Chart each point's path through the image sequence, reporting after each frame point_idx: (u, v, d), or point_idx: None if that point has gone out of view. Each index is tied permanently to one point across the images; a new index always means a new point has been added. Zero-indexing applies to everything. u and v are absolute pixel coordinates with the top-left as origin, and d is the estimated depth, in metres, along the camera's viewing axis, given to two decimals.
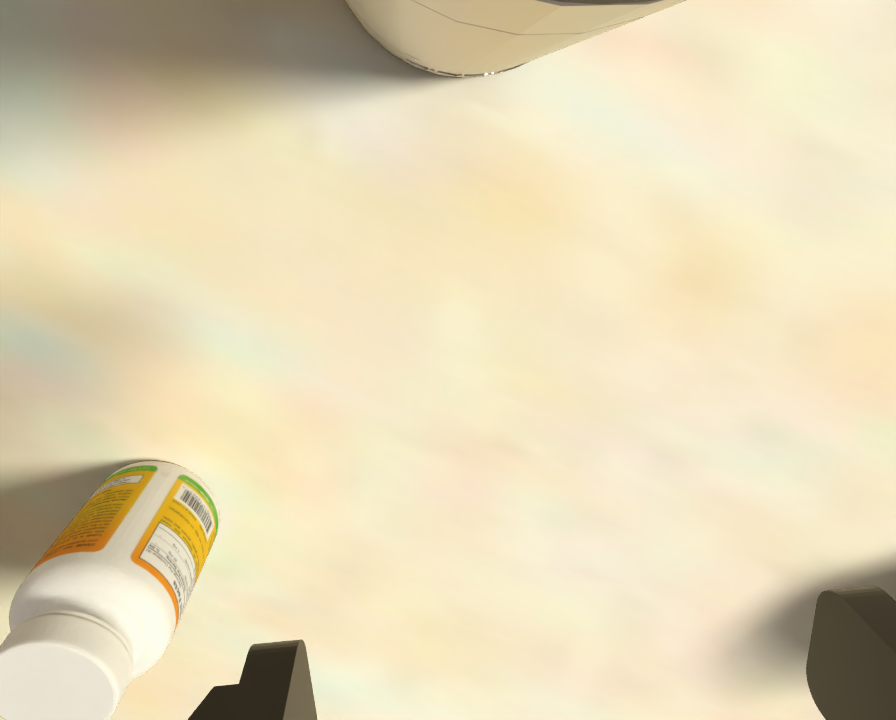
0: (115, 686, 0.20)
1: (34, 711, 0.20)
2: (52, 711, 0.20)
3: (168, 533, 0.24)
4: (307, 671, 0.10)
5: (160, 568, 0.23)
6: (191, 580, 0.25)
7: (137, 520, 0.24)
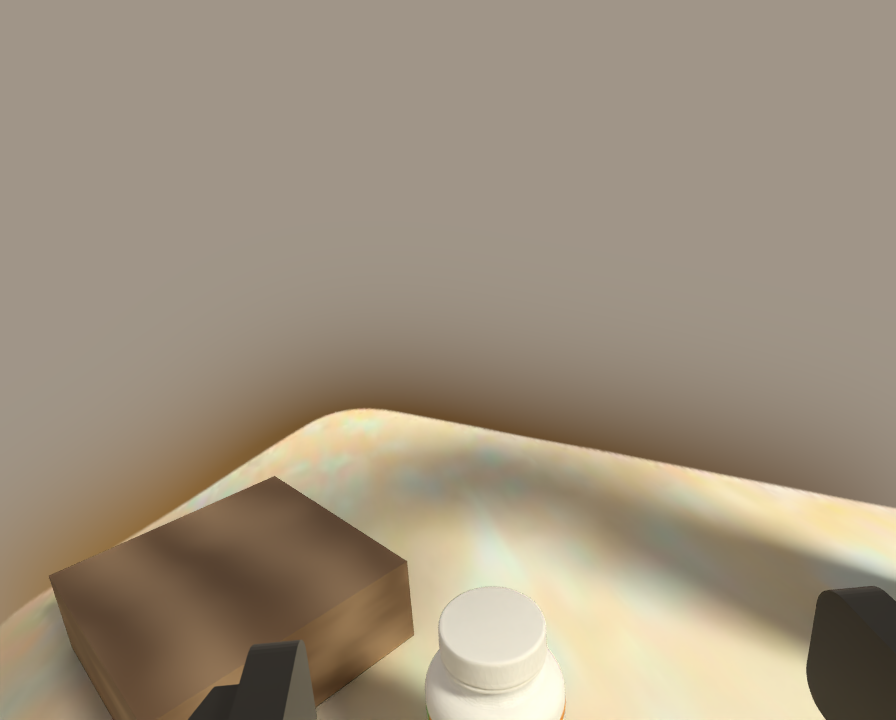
0: (533, 649, 0.22)
1: (465, 624, 0.24)
2: (474, 631, 0.23)
3: None
4: (307, 671, 0.10)
5: None
6: None
7: None
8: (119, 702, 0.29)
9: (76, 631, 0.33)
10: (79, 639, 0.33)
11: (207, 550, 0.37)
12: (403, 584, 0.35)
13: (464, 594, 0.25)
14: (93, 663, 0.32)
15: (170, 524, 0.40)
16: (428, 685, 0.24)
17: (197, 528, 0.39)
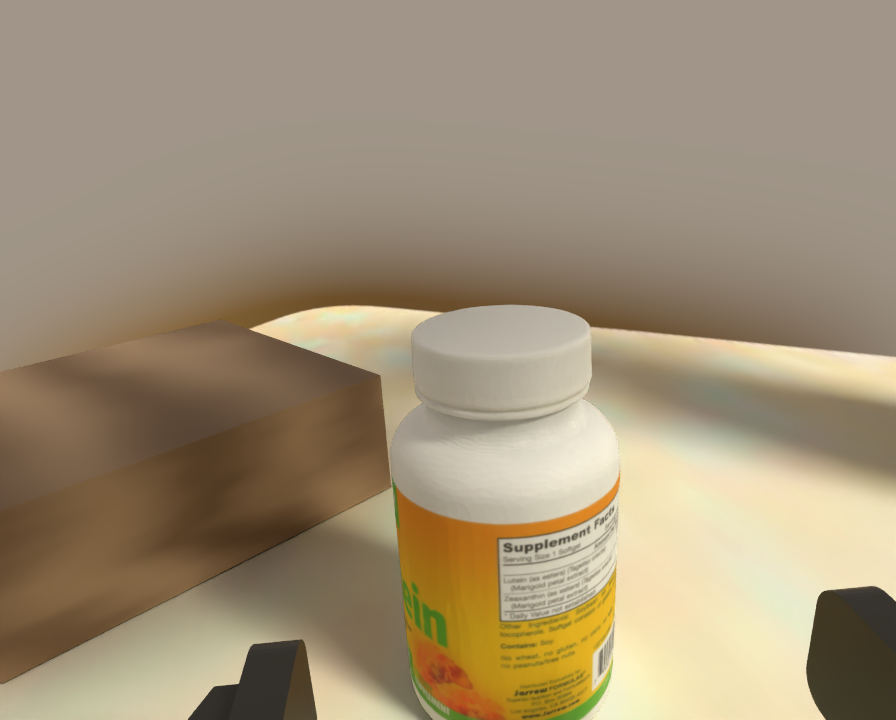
0: (573, 344, 0.13)
1: (456, 329, 0.14)
2: (470, 334, 0.14)
3: (616, 538, 0.16)
4: (307, 671, 0.10)
5: None
6: (588, 579, 0.14)
7: None
8: None
9: None
10: None
11: (113, 373, 0.27)
12: (375, 407, 0.25)
13: (455, 311, 0.16)
14: None
15: (74, 356, 0.30)
16: (395, 441, 0.15)
17: (107, 358, 0.29)
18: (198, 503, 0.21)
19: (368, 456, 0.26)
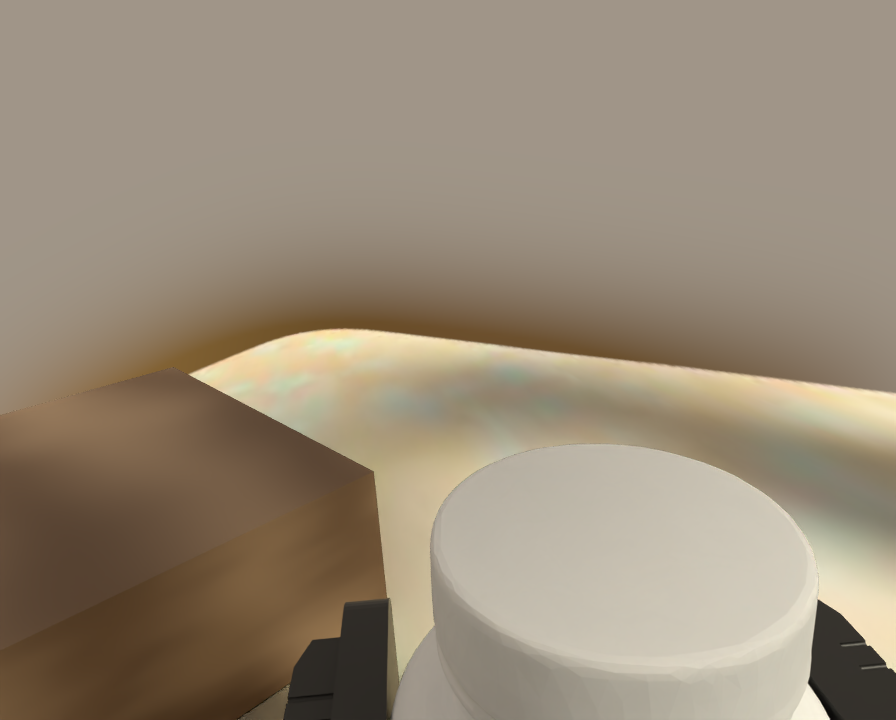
0: (804, 609, 0.06)
1: (522, 531, 0.07)
2: (557, 553, 0.07)
3: None
4: (392, 628, 0.10)
5: None
6: None
7: None
8: None
9: None
10: None
11: (10, 459, 0.20)
12: (367, 516, 0.18)
13: (509, 460, 0.08)
14: None
15: None
16: None
17: (11, 430, 0.22)
18: (93, 698, 0.14)
19: (357, 582, 0.18)
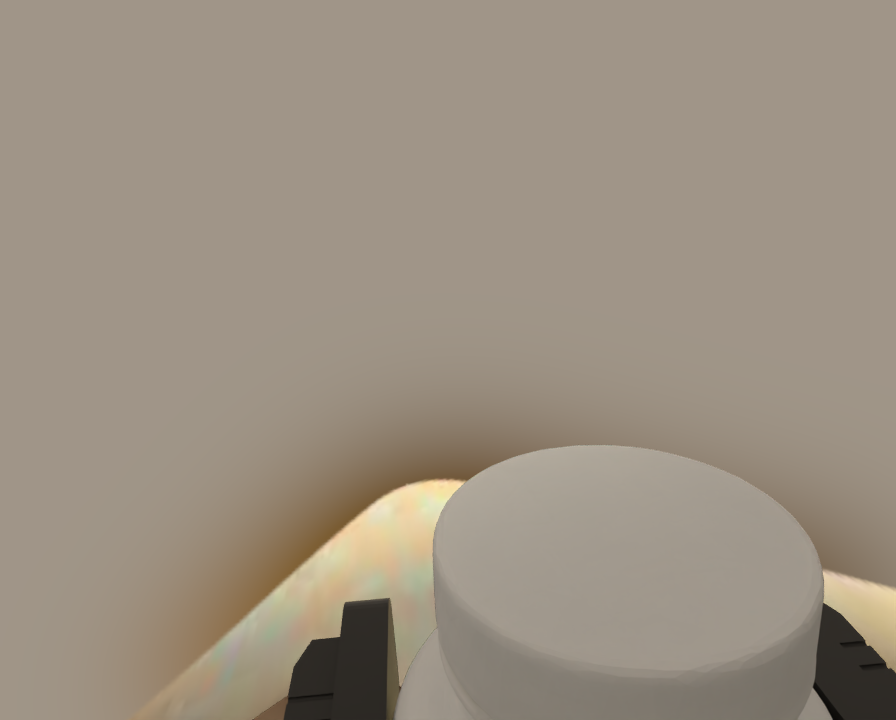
0: (810, 612, 0.06)
1: (525, 533, 0.07)
2: (560, 555, 0.07)
3: None
4: (393, 628, 0.10)
5: None
6: None
7: None
8: None
9: None
10: None
11: None
12: None
13: (512, 461, 0.08)
14: None
15: None
16: None
17: None
18: None
19: None
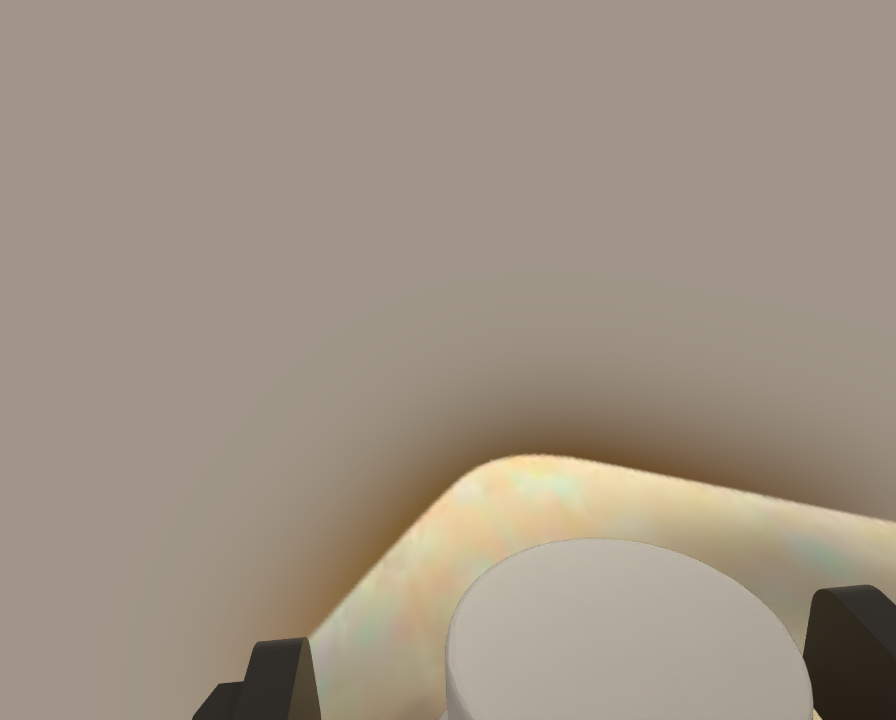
0: None
1: (532, 645, 0.07)
2: (566, 672, 0.07)
3: None
4: (311, 669, 0.10)
5: None
6: None
7: None
8: None
9: None
10: None
11: None
12: None
13: (518, 558, 0.09)
14: None
15: None
16: None
17: None
18: None
19: None
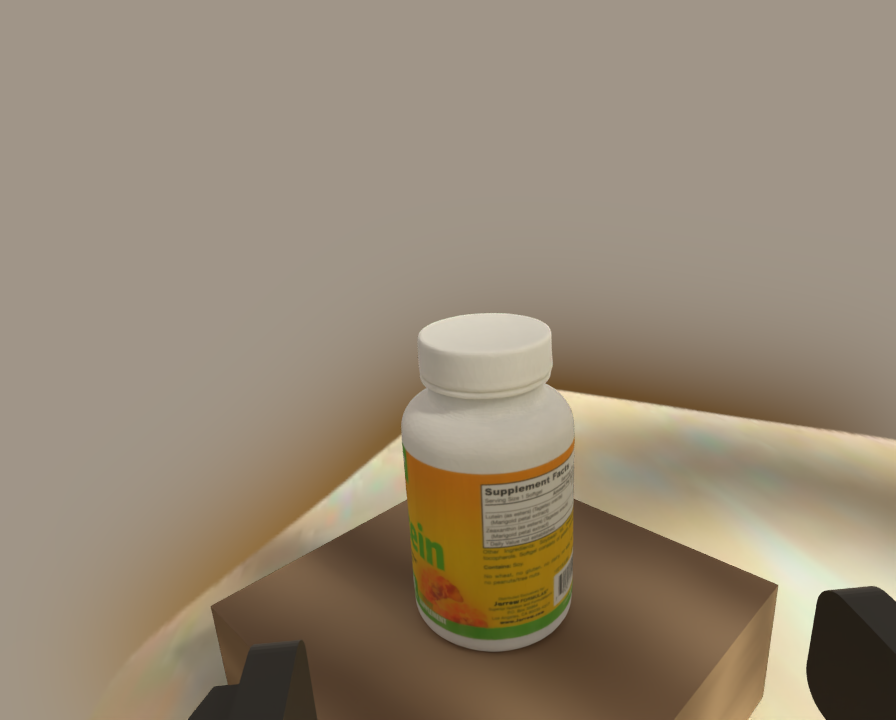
0: (535, 343, 0.18)
1: (451, 332, 0.19)
2: (461, 336, 0.19)
3: None
4: (307, 671, 0.10)
5: None
6: (549, 517, 0.19)
7: None
8: None
9: None
10: None
11: None
12: (769, 620, 0.22)
13: (451, 317, 0.21)
14: None
15: (365, 526, 0.27)
16: (405, 416, 0.20)
17: (409, 533, 0.26)
18: None
19: (757, 673, 0.23)
